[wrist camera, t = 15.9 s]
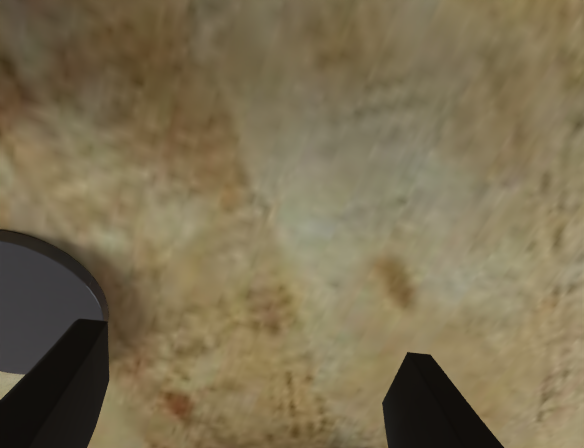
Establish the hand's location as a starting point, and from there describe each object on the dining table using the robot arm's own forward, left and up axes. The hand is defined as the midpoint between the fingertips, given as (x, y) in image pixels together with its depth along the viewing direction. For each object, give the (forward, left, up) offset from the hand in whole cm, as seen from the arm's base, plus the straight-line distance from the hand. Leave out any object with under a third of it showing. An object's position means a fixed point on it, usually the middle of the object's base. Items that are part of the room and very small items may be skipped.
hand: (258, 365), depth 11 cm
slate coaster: (-11, -9, -10) cm, 17 cm away
